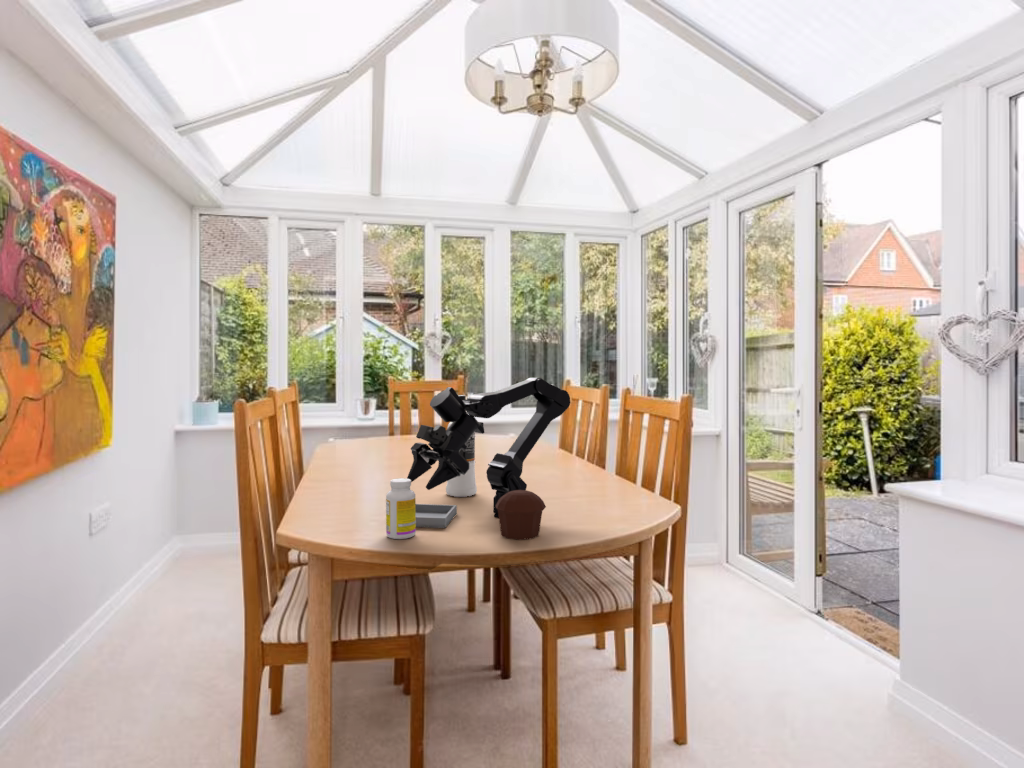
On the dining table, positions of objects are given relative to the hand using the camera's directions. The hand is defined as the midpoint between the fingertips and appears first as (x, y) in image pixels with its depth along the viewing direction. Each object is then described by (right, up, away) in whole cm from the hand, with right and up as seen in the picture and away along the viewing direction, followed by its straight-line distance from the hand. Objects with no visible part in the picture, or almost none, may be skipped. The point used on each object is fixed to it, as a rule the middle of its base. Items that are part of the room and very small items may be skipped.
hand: (417, 485), depth 139 cm
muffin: (+24, -11, 0) cm, 27 cm away
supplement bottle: (-3, -11, -2) cm, 12 cm away
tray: (0, -11, +12) cm, 16 cm away
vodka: (+7, -10, +41) cm, 43 cm away
